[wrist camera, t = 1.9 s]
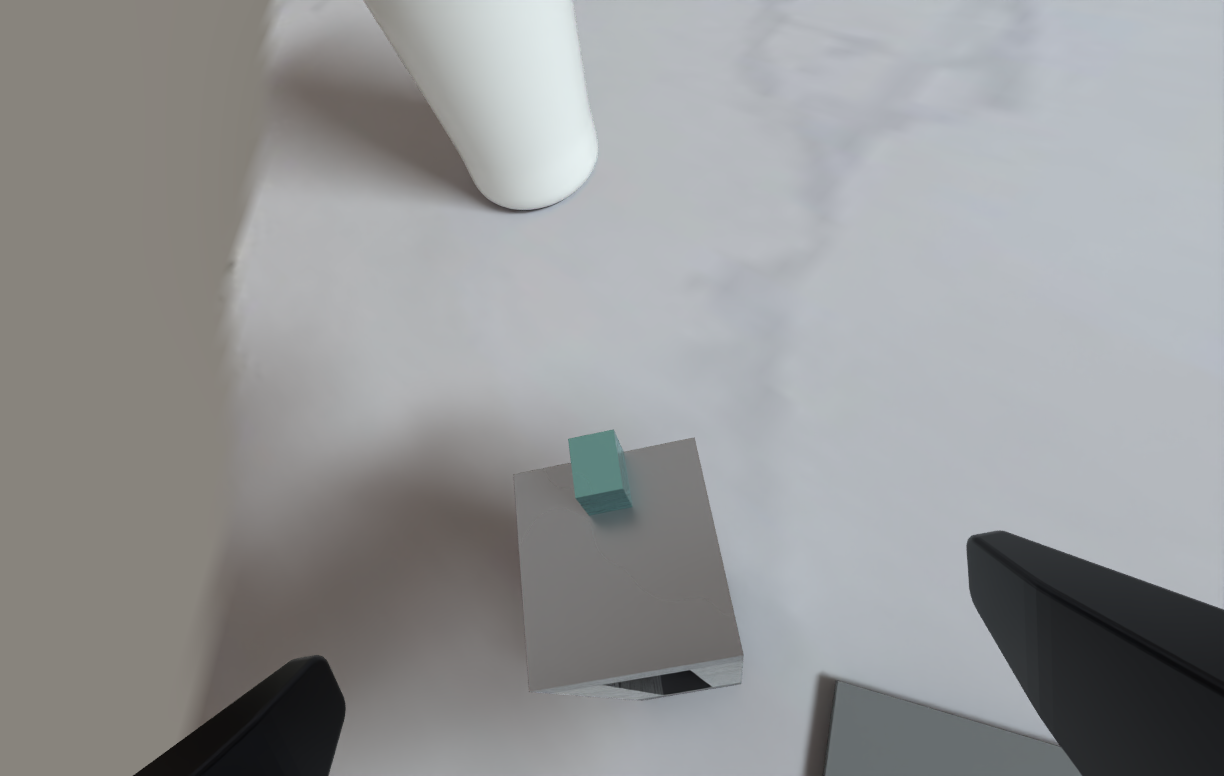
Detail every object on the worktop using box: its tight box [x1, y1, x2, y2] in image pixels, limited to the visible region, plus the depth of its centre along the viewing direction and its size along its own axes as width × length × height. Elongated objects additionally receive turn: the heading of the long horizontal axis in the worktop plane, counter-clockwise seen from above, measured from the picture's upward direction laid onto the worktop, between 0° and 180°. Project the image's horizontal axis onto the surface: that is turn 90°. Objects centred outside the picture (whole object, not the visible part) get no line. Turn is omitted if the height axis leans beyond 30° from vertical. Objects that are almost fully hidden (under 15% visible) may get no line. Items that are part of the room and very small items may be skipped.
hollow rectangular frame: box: [513, 430, 744, 700], centre depth 12 cm, size 3×3×11 cm
